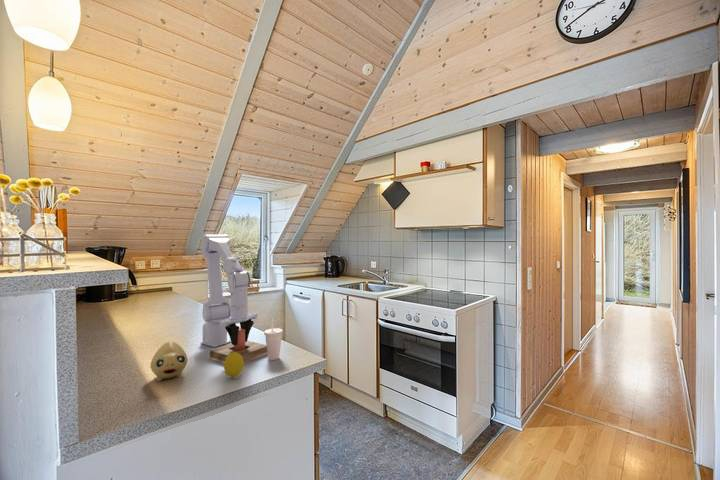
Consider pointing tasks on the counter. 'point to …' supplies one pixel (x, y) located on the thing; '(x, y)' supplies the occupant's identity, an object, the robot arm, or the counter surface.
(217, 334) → the robot arm
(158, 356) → the cream rounded figure
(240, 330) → the reddish brown tall block
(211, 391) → the counter surface
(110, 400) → the counter surface
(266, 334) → the smoothie
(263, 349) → the socket block
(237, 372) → the lemon
